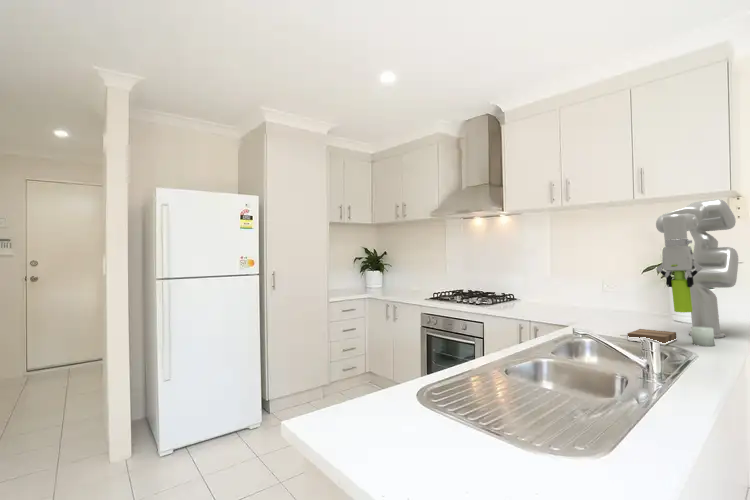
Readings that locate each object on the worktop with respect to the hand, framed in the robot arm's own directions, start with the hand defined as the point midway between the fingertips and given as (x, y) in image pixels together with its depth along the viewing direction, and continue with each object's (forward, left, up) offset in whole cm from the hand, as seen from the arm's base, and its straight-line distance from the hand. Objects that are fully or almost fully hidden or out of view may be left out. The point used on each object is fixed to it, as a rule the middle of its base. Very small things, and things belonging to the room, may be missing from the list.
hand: (680, 286), depth 157 cm
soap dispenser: (0, 0, -11) cm, 11 cm away
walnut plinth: (-4, -13, -25) cm, 28 cm away
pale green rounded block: (-8, +4, -25) cm, 26 cm away
